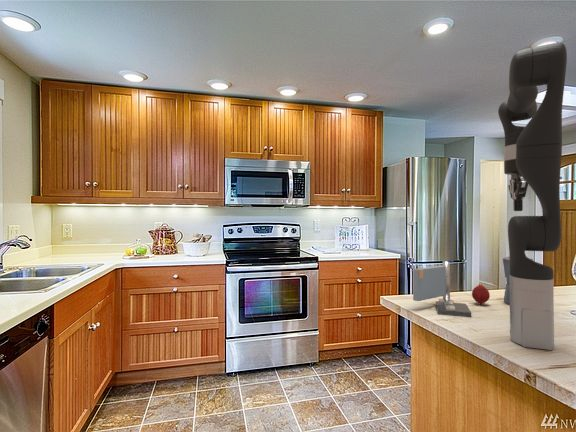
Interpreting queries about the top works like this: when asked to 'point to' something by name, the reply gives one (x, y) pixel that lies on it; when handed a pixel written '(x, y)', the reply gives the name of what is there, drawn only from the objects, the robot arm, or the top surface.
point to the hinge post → (447, 282)
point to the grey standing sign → (429, 283)
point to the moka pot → (507, 279)
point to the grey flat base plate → (453, 309)
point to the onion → (480, 294)
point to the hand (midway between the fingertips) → (518, 211)
